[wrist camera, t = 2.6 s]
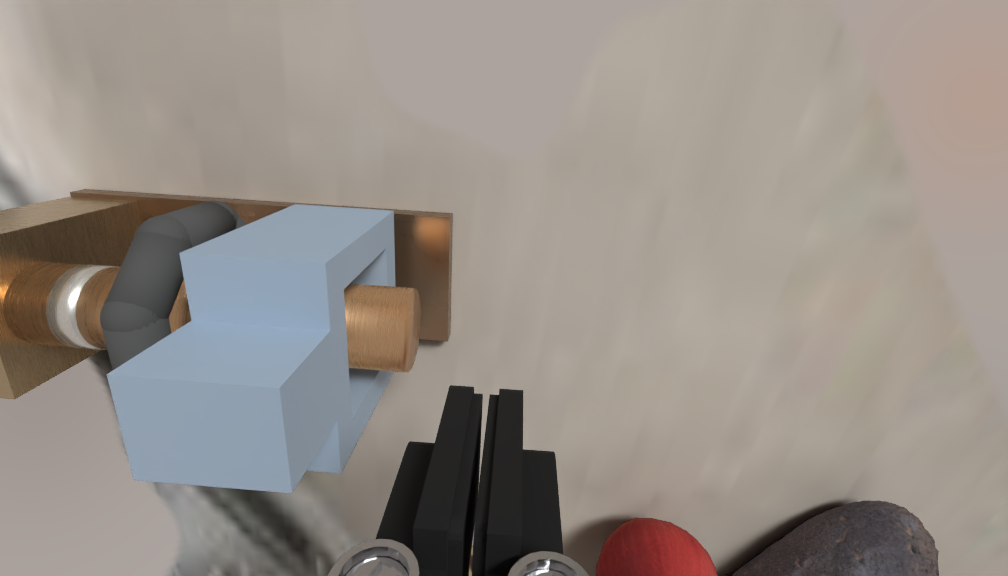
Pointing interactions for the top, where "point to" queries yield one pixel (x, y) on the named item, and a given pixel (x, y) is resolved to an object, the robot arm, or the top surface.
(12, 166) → the top surface
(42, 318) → the pipe rig
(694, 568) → the onion
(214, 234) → the o ring
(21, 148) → the top surface
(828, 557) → the perforated stone tool
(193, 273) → the blue-grey stepped block
